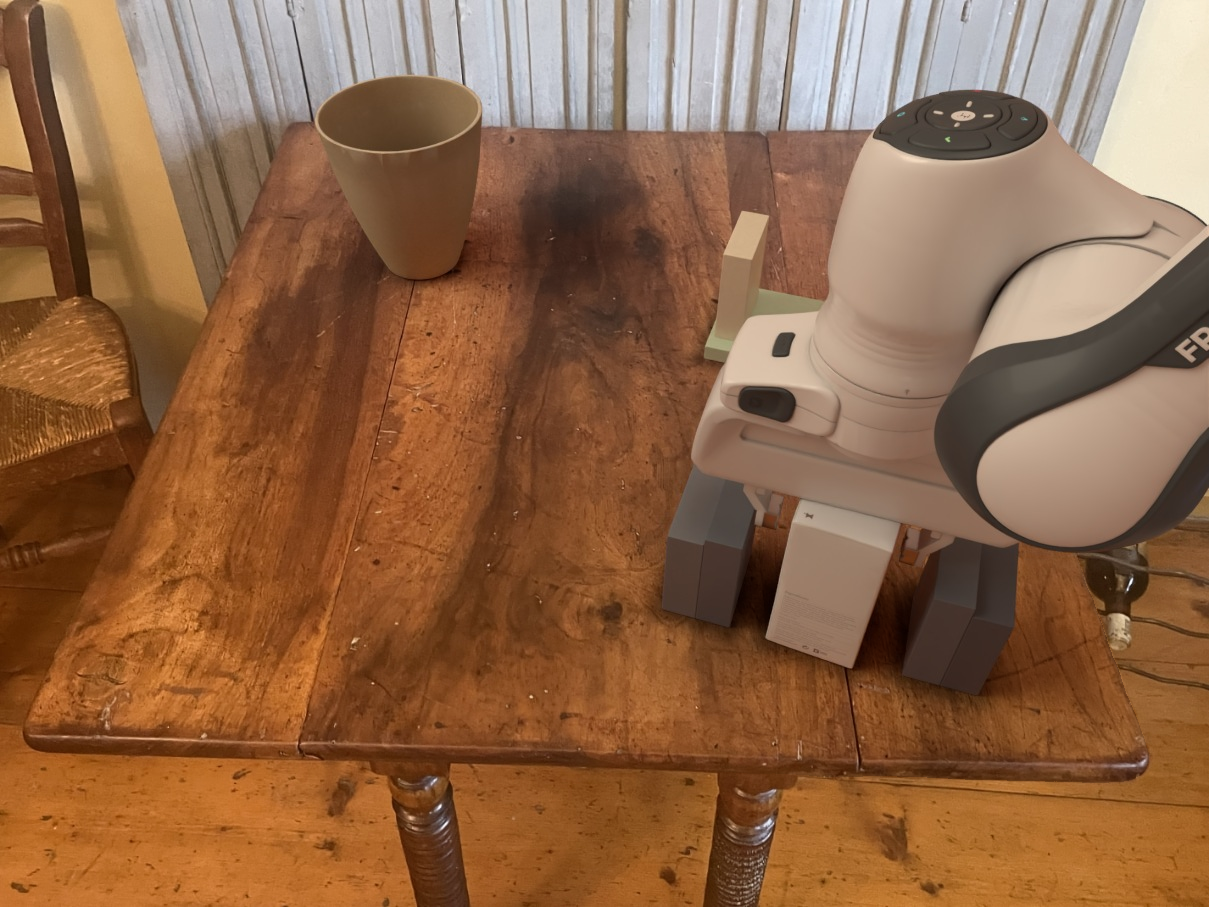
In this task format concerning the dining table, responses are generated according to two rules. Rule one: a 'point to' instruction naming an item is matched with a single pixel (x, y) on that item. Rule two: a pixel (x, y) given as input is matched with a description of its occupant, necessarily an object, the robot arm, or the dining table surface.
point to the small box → (830, 580)
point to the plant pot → (407, 166)
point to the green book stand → (747, 287)
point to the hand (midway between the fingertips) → (837, 538)
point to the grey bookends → (942, 603)
